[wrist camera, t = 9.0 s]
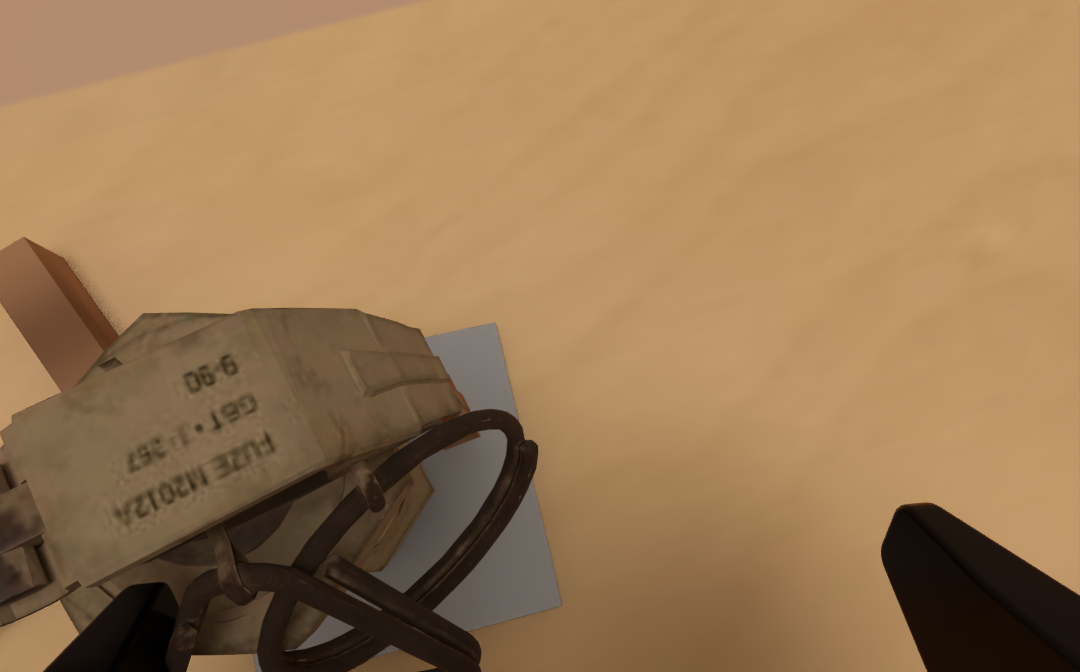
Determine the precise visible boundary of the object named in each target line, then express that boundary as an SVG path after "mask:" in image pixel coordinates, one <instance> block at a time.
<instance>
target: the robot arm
mask: <svg viewBox="0 0 1080 672" xmlns="http://www.w3.org/2000/svg"><path fill="white" fill-rule="evenodd" d="M881 558H882V562H883V566H884V568H885V571H886V573H887V576H888V578H889V580H890V583H891V585H892V588H893V590H894V593H895V595H896V597H897V600H898V602H899V605H900V607H901V610H902V612H903V614H904V617H905V619H906V622H907V624H908V627H909V629H910V631H911V634H912V636H913V639H914V641H915V644H916V646H917V648H918V651H919V653H920V656H921V658H922V660H923V663H924V665H925V667H926V669H927V672H1080V595H1078V594H1077V593H1075V592H1073V591H1072V590H1070V589H1069V588H1067V587H1066V586H1064V585H1062V584H1061V583H1059V582H1058V581H1056V580H1055V579H1053V578H1051V577H1050V576H1048V575H1047V574H1045V573H1043V572H1042V571H1040V570H1039V569H1037V568H1036V567H1034V566H1032V565H1031V564H1029V563H1028V562H1026V561H1025V560H1023V559H1021V558H1020V557H1018V556H1017V555H1015V554H1014V553H1012V552H1010V551H1009V550H1007V549H1006V548H1004V547H1002V546H1001V545H999V544H998V543H996V542H995V541H993V540H991V539H990V538H988V537H987V536H985V535H984V534H982V533H980V532H979V531H977V530H976V529H974V528H973V527H971V526H969V525H968V524H966V523H965V522H963V521H961V520H960V519H958V518H957V517H955V516H954V515H952V514H950V513H949V512H947V511H946V510H944V509H943V508H941V507H939V506H937V505H935V504H933V503H915V504H905V505H901V506H900V507H899V508H897V509H896V511H895V513H894V516H893V518H892V521H891V523H890V526H889V528H888V531H887V533H886V536H885V538H884V541H883V543H882V547H881ZM179 608H180V606H179V604H178V602H177V600H176V598H175V596H174V594H173V591H172V589H171V588H170V586H169V585H168V584H166V583H165V582H152V583H143V584H134V585H130V586H128V587H127V588H125V589H124V590H122V591H121V592H120V593H119V594H118V595H117V596H116V597H115V598H114V599H113V600H112V601H111V602H110V603H109V604H108V605H107V606H106V607H105V608H104V609H103V610H102V611H101V612H100V614H99V615H98V616H97V617H96V618H95V619H94V620H93V621H92V622H91V623H90V624H89V625H88V626H87V627H86V628H85V629H84V630H83V631H82V632H81V633H80V634H79V635H78V636H77V637H76V638H75V639H74V640H73V641H72V642H71V643H70V644H69V645H68V646H67V647H66V648H65V649H64V650H63V652H62V653H61V654H60V655H59V656H58V657H57V658H56V659H55V660H54V661H53V662H52V663H51V664H50V665H49V666H48V667H47V668H46V669H45V670H44V671H43V672H170V671H169V669H168V666H167V664H166V662H165V657H166V653H167V649H168V646H169V643H170V639H171V636H172V633H173V630H174V624H175V621H176V618H177V615H178V612H179Z"/></svg>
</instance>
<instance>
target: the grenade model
mask: <svg viewBox="0 0 1080 672" xmlns="http://www.w3.org/2000/svg"><path fill="white" fill-rule="evenodd" d="M430 429H431V430H430ZM428 430H429V431H428ZM484 430H501V431H502V432H503V433H504V434H505V436H506V438H507V449H506V456H505V460H504V463H503V466H502V469H501V472H500V474H499V476H498V479H497V481H496V483H495V485H494V487H493V489H492V490H491V492H490V493H489V495H488V497H487V498H486V500H485V502H484V503H483V505H482V506H481V508H480V510H479V511H478V513H477V515H476V516H475V518H474V519H473V520H472V522H471V523H470V524H469V525H468V526H467V528H466V529H465V530H464V531H463V532H462V534H461V535H460V536H459V537H458V538H457V540H456V541H455V542H454V543H453V544H452V546H451V547H450V548H449V549H448V550H447V552H446V553H445V554H444V555H443V556H442V557H441V559H439V560H438V561H437V562H436V563H435V564H434V565H433V566H432V567H431V568H430V569H429V570H428V571H427V572H426V573H425V574H424V575H423V576H422V577H420V578H419V579H418V580H417V581H416V582H415V583H414V584H413V585H412V586H411V587H410V588H409V589H408V590H407V591H406V592H404V593H401V592H400V591H398V590H396V589H395V588H393V587H391V586H389V585H388V584H386V583H384V582H383V581H381V580H379V579H378V578H376V577H374V576H373V575H371V574H369V573H368V572H379V571H382V570H383V569H384V568H385V567H386V566H387V565H388V563H389V562H390V560H391V559H392V557H393V556H394V554H395V553H396V552H397V550H398V549H399V547H400V546H401V544H402V543H403V541H404V539H405V538H406V536H407V535H408V533H409V531H410V530H411V528H412V527H413V525H414V523H415V522H416V520H417V519H418V517H419V516H420V514H421V512H422V511H423V509H424V507H425V506H426V504H427V503H428V501H429V499H430V498H431V496H432V495H433V493H434V491H435V490H434V488H433V486H432V484H431V482H430V480H429V478H428V476H427V474H426V472H425V470H424V468H423V466H422V464H421V462H422V461H423V460H425V459H426V458H428V457H430V456H432V455H433V454H435V453H437V452H439V451H440V450H442V449H444V451H445V450H447V449H450V448H452V447H455V446H458V445H460V444H463V443H466V442H468V441H471V440H473V439H476V438H478V437H480V436H481V435H480V433H479V432H478V431H484ZM426 431H428V432H426ZM424 432H426V433H425V434H423V435H421V434H422V433H424ZM0 435H1V437H2V440H3V442H4V444H3V446H2V447H1V448H0V627H2V626H5V625H7V624H10V623H13V622H15V621H17V620H19V619H22V618H24V617H26V616H28V615H31V614H33V613H35V612H37V611H39V610H41V609H43V608H45V607H47V606H49V605H51V604H53V603H55V602H57V601H58V600H60V601H61V603H62V605H63V607H64V609H65V611H66V612H67V614H68V616H69V617H70V619H71V621H72V622H73V624H74V626H75V628H76V629H77V631H78V633H79V634H80V633H81V632H82V631H83V630H84V629H85V628H86V627H87V626H88V625H89V624H90V623H91V622H92V621H93V620H94V619H95V618H96V617H97V616H98V615H99V614H100V612H101V611H102V610H103V609H104V608H105V607H106V606H107V605H108V604H109V603H110V602H111V601H112V600H113V599H114V598H115V597H116V596H117V595H118V594H119V593H120V592H121V591H122V590H124V589H125V588H127V587H128V586H130V585H134V584H143V583H152V582H165V583H166V584H168V585H169V586H170V588H171V589H172V591H173V594H174V596H175V598H176V600H177V602H178V604H179V606H180V608H179V612H178V615H177V618H176V621H175V624H174V630H173V633H172V636H171V639H170V643H169V646H168V649H167V653H166V657H165V662H166V664H167V666H168V669H169V671H170V672H186V670H187V667H188V664H189V661H190V658H191V655H234V654H257V656H258V662H259V666H260V668H261V671H262V672H348V671H350V670H352V669H354V668H355V667H357V666H359V665H361V664H363V663H365V662H366V661H368V660H369V659H371V658H372V657H374V656H375V655H377V654H378V653H380V652H381V651H383V650H384V649H386V648H387V647H389V646H390V645H392V646H394V647H396V648H398V649H400V650H402V651H404V652H407V653H409V654H411V655H413V656H415V657H417V658H419V659H421V660H423V661H425V662H427V663H429V664H432V665H434V666H436V667H438V668H435V669H431V670H425V671H419V672H481V669H480V667H479V663H480V659H481V648H480V645H479V643H478V641H477V640H476V639H475V638H474V637H473V636H472V635H471V634H470V633H468V632H467V631H465V630H463V629H462V628H460V627H458V626H457V625H455V624H453V623H452V622H450V621H448V620H447V619H445V618H443V617H441V616H440V615H438V614H436V613H435V612H433V610H434V609H435V608H436V607H437V606H438V605H439V604H440V603H441V602H442V601H443V600H444V599H445V598H446V597H447V596H448V595H449V594H450V593H451V592H452V591H453V590H454V589H455V588H456V587H457V586H458V585H459V584H460V583H461V582H462V581H463V580H464V579H465V578H466V577H467V576H468V575H469V574H470V572H471V571H472V570H473V569H474V568H475V567H476V566H477V564H478V563H479V562H480V561H481V560H482V558H483V557H484V556H485V555H486V553H487V552H488V551H489V549H490V548H491V547H492V545H493V544H494V543H495V541H496V540H497V539H498V538H499V536H500V535H501V534H502V532H503V531H504V529H505V528H506V527H507V525H508V524H509V522H510V521H511V519H512V517H513V516H514V514H515V512H516V511H517V509H518V508H519V506H520V504H521V502H522V500H523V498H524V496H525V494H526V492H527V490H528V488H529V486H530V483H531V480H532V478H533V475H534V473H535V470H536V465H537V458H538V445H537V444H536V443H535V442H533V441H532V440H525V439H524V433H523V428H522V426H521V425H520V423H519V421H518V420H517V419H516V418H515V416H513V415H511V414H510V413H508V412H506V411H503V410H497V409H485V410H477V411H472V412H470V408H469V406H468V404H467V402H466V400H465V398H464V397H463V395H462V393H460V392H459V391H457V389H456V387H455V385H454V383H453V381H452V379H451V377H450V375H449V374H448V373H447V372H446V370H445V368H444V366H443V364H442V362H441V360H440V358H439V356H434V355H433V353H432V351H431V349H430V348H429V346H428V344H427V342H426V340H425V338H424V336H423V335H422V333H421V331H420V329H417V328H412V327H408V326H406V325H403V324H401V323H399V322H396V321H392V320H388V319H385V318H381V317H378V316H374V315H370V314H366V313H363V312H361V311H359V310H357V309H332V308H257V309H248V310H243V311H238V312H236V313H233V314H214V313H143V314H142V315H141V316H140V317H139V318H138V319H137V320H136V321H135V322H134V323H133V324H132V325H131V326H130V327H129V328H128V329H126V330H125V331H124V332H123V333H122V334H121V335H120V336H119V337H118V338H117V339H116V340H115V341H114V342H113V343H112V344H111V345H110V346H109V347H108V348H107V349H106V350H105V351H104V352H103V353H102V354H101V355H100V356H99V357H98V359H97V360H96V361H95V362H94V363H93V364H92V365H91V367H90V368H89V369H88V370H87V371H86V372H85V374H84V375H83V376H82V377H81V378H80V379H79V380H78V382H77V383H76V384H75V385H74V386H73V387H72V388H70V389H68V390H66V391H63V392H61V393H59V394H57V395H55V396H52V397H50V398H48V399H46V400H44V401H42V402H39V403H37V404H35V405H33V406H31V407H28V408H26V409H24V410H22V411H20V412H18V413H15V414H13V415H12V424H10V425H9V426H7V427H6V428H5V429H3V430H2V431H0ZM419 435H421V436H420V437H418V438H417V439H415V440H414V441H412V442H410V440H412V439H414V438H415V437H417V436H419ZM347 590H349V591H350V592H352V593H354V594H356V595H357V596H359V597H361V598H363V599H364V600H366V601H368V602H370V603H372V604H373V605H375V606H377V607H379V608H380V609H382V610H381V611H380V610H378V609H376V608H374V607H372V606H370V605H368V604H366V603H364V602H362V601H360V600H358V599H356V598H354V597H352V596H350V595H348V594H346V593H345V592H346V591H347ZM328 615H329V616H331V617H333V618H335V619H338V620H340V621H342V622H344V623H346V624H348V625H350V626H352V627H354V628H353V629H351V630H350V631H348V632H346V633H345V634H343V635H341V636H338V637H336V638H334V639H332V640H330V641H328V642H325V643H323V644H319V645H316V646H313V647H310V648H307V649H300V650H293V649H297V648H298V647H299V646H301V645H302V644H303V643H304V642H305V641H306V640H307V639H308V638H309V637H310V636H311V635H312V634H313V633H314V632H315V631H316V630H317V629H318V628H319V626H320V625H321V624H322V622H323V621H324V620H325V619H326V617H327V616H328ZM413 627H414V628H413ZM415 628H416V629H415ZM417 629H418V630H417ZM422 632H423V633H422ZM424 633H425V634H424ZM286 650H292V651H286Z"/></svg>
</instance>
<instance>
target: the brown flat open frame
mask: <svg viewBox="0 0 1080 672" xmlns="http://www.w3.org/2000/svg"><path fill="white" fill-rule="evenodd" d="M0 303H1V304H2V306H3V307H4V309H5V310H6V312H7V313H8V314H9V316H10V317H11V319H12V320H13V322H14V323H15V325H16V326H17V328H18V329H19V331H20V332H21V333H22V335H23V336H24V338H25V339H26V341H27V342H28V344H29V345H30V347H31V348H32V349H33V351H34V352H35V354H36V355H37V357H38V358H39V360H40V361H41V363H42V364H43V365H44V367H45V368H46V370H47V371H48V373H49V374H50V376H51V377H52V379H53V380H54V381H55V383H56V384H57V386H58V387H59V389H60V390H61V392H63V391H66V390H68V389H70V388H72V387H73V386H74V385H75V384H76V383H77V382H78V380H79V379H80V378H81V377H82V376H83V375H84V374H85V372H86V371H87V370H88V369H89V368H90V367H91V365H92V364H93V363H94V362H95V361H96V360H97V359H98V357H99V356H100V355H101V354H102V353H103V352H104V351H105V350H106V349H107V348H108V347H109V346H110V345H111V344H112V343H113V342H114V341H115V340H116V339H117V338H118V337H119V336H118V335H117V334H116V332H115V331H114V329H113V328H112V326H111V325H110V324H109V322H108V321H107V319H106V318H105V317H104V315H103V314H102V312H101V311H100V309H99V308H98V307H97V305H96V304H95V302H94V301H93V300H92V298H91V297H90V295H89V294H88V292H87V291H86V290H85V288H84V287H83V285H82V284H81V283H80V281H79V280H78V278H77V277H76V275H75V274H74V273H73V271H72V270H71V268H70V267H69V266H68V264H67V263H66V261H65V260H64V258H62V257H60V256H58V255H57V254H55V253H53V252H51V251H49V250H47V249H45V248H43V247H42V246H40V245H38V244H36V243H34V242H32V241H30V240H29V239H27V238H25V237H22V238H21V239H19V240H17V241H16V242H14V243H12V244H11V245H9V246H7V247H6V248H4V249H3V250H1V251H0Z"/></svg>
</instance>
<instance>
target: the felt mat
mask: <svg viewBox="0 0 1080 672" xmlns="http://www.w3.org/2000/svg"><path fill="white" fill-rule="evenodd" d="M425 340H426V342H427V344H428V346H429V348H430V349H431V351H432V353H433V355H434V356H439V358H440V360H441V362H442V364H443V366H444V368H445V370H446V372H447V373H448V374H449V375H450V377H451V379H452V381H453V383H454V385H455V387H456V389H457V391H459V392H460V393H462V395H463V397H464V398H465V400H466V402H467V404H468V406H469V408H470V412H472V411H477V410H485V409H497V410H503V411H506V412H508V413H510V414H511V415H513V416H515V418H516V419H517V420H518V416H517V412H516V408H515V403H514V399H513V395H512V391H511V386H510V382H509V378H508V374H507V369H506V365H505V361H504V357H503V352H502V348H501V344H500V340H499V336H498V331H497V327H496V323H490V324H486V325H481V326H477V327H472V328H467V329H463V330H458V331H454V332H449V333H444V334H440V335H435V336H431V337H426V338H425ZM518 421H519V420H518ZM430 430H431V429H430ZM428 431H429V430H428ZM428 431H426V432H428ZM426 432H424V433H422V434H421V435H423V434H425V433H426ZM478 432H479V433H480V435H481V436H480V437H478V438H476V439H473V440H471V441H468V442H466V443H463V444H460V445H458V446H455V447H452V448H450V449H447V450H445V451H444V449H442V450H440V451H439V452H437V453H435V454H433V455H432V456H430V457H428V458H426V459H425V460H423V461H422V462H421V464H422V466H423V468H424V470H425V472H426V474H427V476H428V478H429V480H430V482H431V484H432V486H433V488H434V490H435V491H434V493H433V495H432V496H431V498H430V499H429V501H428V503H427V504H426V506H425V507H424V509H423V511H422V512H421V514H420V516H419V517H418V519H417V520H416V522H415V523H414V525H413V527H412V528H411V530H410V531H409V533H408V535H407V536H406V538H405V539H404V541H403V543H402V544H401V546H400V547H399V549H398V550H397V552H396V553H395V554H394V556H393V557H392V559H391V560H390V562H389V563H388V565H387V566H386V567H385V568H384V569H383V570H382V571H379V572H368V573H369V574H371V575H373V576H374V577H376V578H378V579H379V580H381V581H383V582H384V583H386V584H388V585H389V586H391V587H393V588H395V589H396V590H398V591H400V592H401V593H404V592H406V591H407V590H408V589H409V588H410V587H411V586H412V585H413V584H414V583H415V582H416V581H417V580H418V579H419V578H420V577H422V576H423V575H424V574H425V573H426V572H427V571H428V570H429V569H430V568H431V567H432V566H433V565H434V564H435V563H436V562H437V561H438V560H439V559H441V557H442V556H443V555H444V554H445V553H446V552H447V550H448V549H449V548H450V547H451V546H452V544H453V543H454V542H455V541H456V540H457V538H458V537H459V536H460V535H461V534H462V532H463V531H464V530H465V529H466V528H467V526H468V525H469V524H470V523H471V522H472V520H473V519H474V518H475V516H476V515H477V513H478V511H479V510H480V508H481V506H482V505H483V503H484V502H485V500H486V498H487V497H488V495H489V493H490V492H491V490H492V489H493V487H494V485H495V483H496V481H497V479H498V476H499V474H500V472H501V469H502V466H503V463H504V460H505V456H506V449H507V438H506V436H505V434H504V433H503V432H502V431H501V430H484V431H478ZM421 435H419V436H417V437H415V438H414V439H412V440H410V442H412V441H414V440H415V439H417V438H418V437H420V436H421ZM345 593H346V594H348V595H350V596H352V597H354V598H356V599H358V600H360V601H362V602H364V603H366V604H368V605H370V606H372V607H374V608H376V609H378V610H380V611H381V610H382V609H380V608H379V607H377V606H375V605H373V604H372V603H370V602H368V601H366V600H364V599H363V598H361V597H359V596H357V595H356V594H354V593H352V592H350V591H349V590H347V591H346V592H345ZM559 606H562V602H561V598H560V594H559V590H558V585H557V581H556V577H555V573H554V569H553V564H552V560H551V556H550V552H549V547H548V543H547V539H546V535H545V530H544V526H543V522H542V518H541V513H540V509H539V505H538V501H537V496H536V492H535V488H534V484H533V480H531V483H530V486H529V488H528V490H527V492H526V494H525V496H524V498H523V500H522V502H521V504H520V506H519V508H518V509H517V511H516V512H515V514H514V516H513V517H512V519H511V521H510V522H509V524H508V525H507V527H506V528H505V529H504V531H503V532H502V534H501V535H500V536H499V538H498V539H497V540H496V541H495V543H494V544H493V545H492V547H491V548H490V549H489V551H488V552H487V553H486V555H485V556H484V557H483V558H482V560H481V561H480V562H479V563H478V564H477V566H476V567H475V568H474V569H473V570H472V571H471V572H470V574H469V575H468V576H467V577H466V578H465V579H464V580H463V581H462V582H461V583H460V584H459V585H458V586H457V587H456V588H455V589H454V590H453V591H452V592H451V593H450V594H449V595H448V596H447V597H446V598H445V599H444V600H443V601H442V602H441V603H440V604H439V605H438V606H437V607H436V608H435V609H434V610H433V612H435V613H436V614H438V615H440V616H441V617H443V618H445V619H447V620H448V621H450V622H452V623H453V624H455V625H457V626H458V627H460V628H462V629H463V630H465V631H467V632H468V631H472V630H475V629H479V628H482V627H486V626H490V625H493V624H497V623H501V622H504V621H508V620H512V619H515V618H519V617H522V616H526V615H530V614H533V613H537V612H541V611H544V610H548V609H552V608H555V607H559ZM353 628H354V627H352V626H350V625H348V624H346V623H344V622H342V621H340V620H338V619H335V618H333V617H331V616H329V615H328V616H327V617H326V619H325V620H324V621H323V622H322V624H321V625H320V626H319V628H318V629H317V630H316V631H315V632H314V633H313V634H312V635H311V636H310V637H309V638H308V639H307V640H306V641H305V642H304V643H303V644H302V645H301V646H299V647H298V648H297V649H293V650H300V649H307V648H310V647H313V646H316V645H319V644H323V643H325V642H328V641H330V640H332V639H334V638H336V637H338V636H341V635H343V634H345V633H346V632H348V631H350V630H351V629H353ZM413 628H414V627H413ZM415 629H416V628H415ZM417 630H418V629H417ZM422 633H423V632H422ZM424 634H425V633H424ZM399 650H400V649H398V648H396V647H394V646H392V645H390V646H389V647H387V648H386V649H384V650H383V651H381V652H380V653H378V654H377V655H375V656H374V657H377V656H381V655H384V654H388V653H391V652H395V651H399ZM286 651H292V650H286ZM253 655H254V661H255V668H256V672H262V671H261V668H260V666H259V662H258V656H257V654H253ZM372 658H373V657H372Z"/></svg>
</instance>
